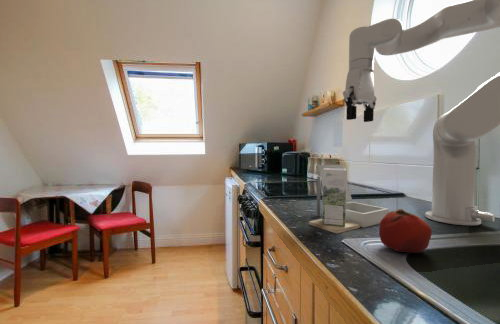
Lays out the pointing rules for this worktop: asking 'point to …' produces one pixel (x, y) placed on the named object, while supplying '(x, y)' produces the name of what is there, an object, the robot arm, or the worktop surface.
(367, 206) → the case
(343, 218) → the syrup box
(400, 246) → the tomato
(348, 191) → the lid
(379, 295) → the worktop surface
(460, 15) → the robot arm
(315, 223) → the plate
